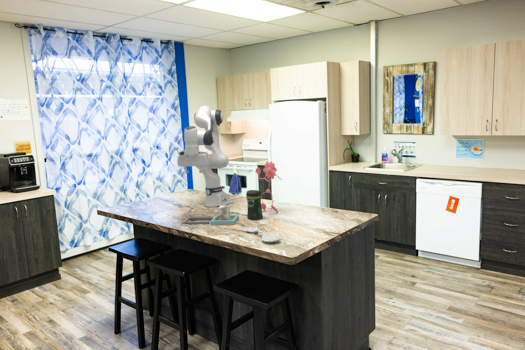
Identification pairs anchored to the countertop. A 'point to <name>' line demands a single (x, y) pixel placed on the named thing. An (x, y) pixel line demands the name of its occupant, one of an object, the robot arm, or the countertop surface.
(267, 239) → the spoon
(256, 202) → the coffee jar
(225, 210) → the cream block
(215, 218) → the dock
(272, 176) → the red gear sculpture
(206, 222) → the channel
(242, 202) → the countertop surface
